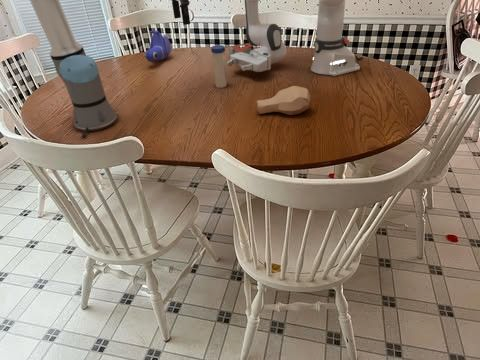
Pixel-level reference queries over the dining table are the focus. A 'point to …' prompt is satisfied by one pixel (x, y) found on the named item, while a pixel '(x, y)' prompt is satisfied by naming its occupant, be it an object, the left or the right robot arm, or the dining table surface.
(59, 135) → the dining table surface
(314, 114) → the dining table surface
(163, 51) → the toy
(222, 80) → the jar
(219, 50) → the lid
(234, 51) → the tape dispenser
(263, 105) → the squash
